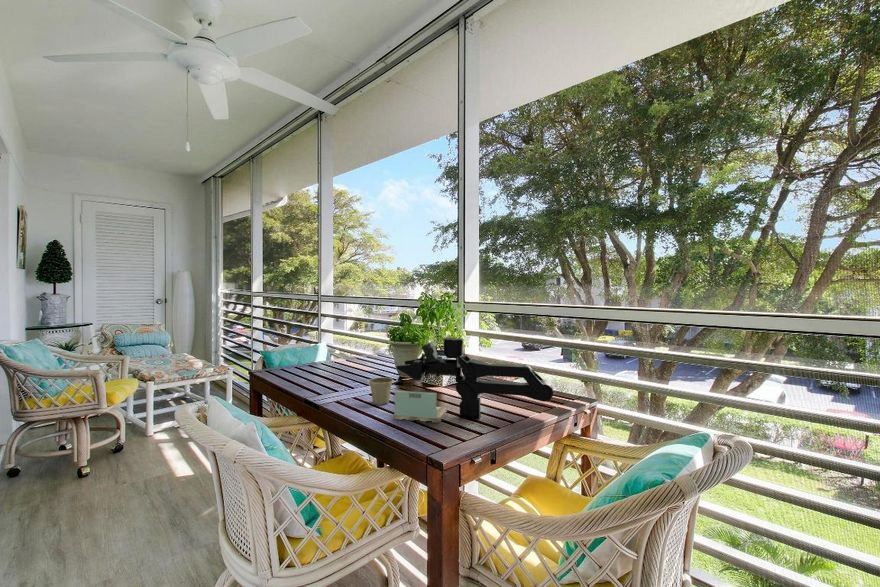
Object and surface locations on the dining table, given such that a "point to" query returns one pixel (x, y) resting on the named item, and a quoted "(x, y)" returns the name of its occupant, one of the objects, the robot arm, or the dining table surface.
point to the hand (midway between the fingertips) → (400, 364)
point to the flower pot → (380, 390)
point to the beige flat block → (440, 414)
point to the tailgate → (416, 404)
